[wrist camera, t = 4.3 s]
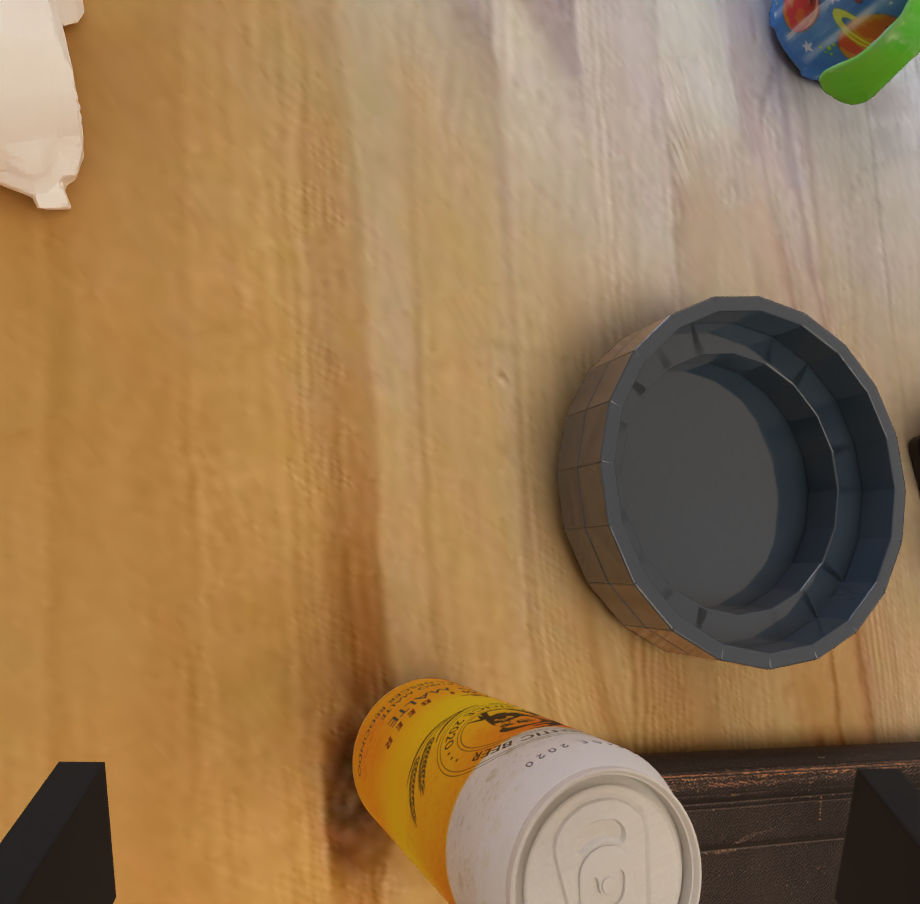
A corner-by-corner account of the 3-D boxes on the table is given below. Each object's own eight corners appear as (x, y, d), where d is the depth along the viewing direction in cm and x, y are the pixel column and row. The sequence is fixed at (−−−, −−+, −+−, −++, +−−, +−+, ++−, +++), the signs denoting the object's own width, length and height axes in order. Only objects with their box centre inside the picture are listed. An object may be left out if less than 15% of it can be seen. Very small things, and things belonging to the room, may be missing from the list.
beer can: (479, 664, 35) (695, 728, 21) (497, 810, 34) (732, 975, 20) (339, 690, 33) (478, 781, 19) (356, 847, 32) (512, 1060, 18)
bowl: (525, 625, 36) (574, 633, 32) (580, 282, 39) (631, 248, 35) (817, 680, 41) (892, 693, 37) (843, 372, 44) (915, 352, 40)
